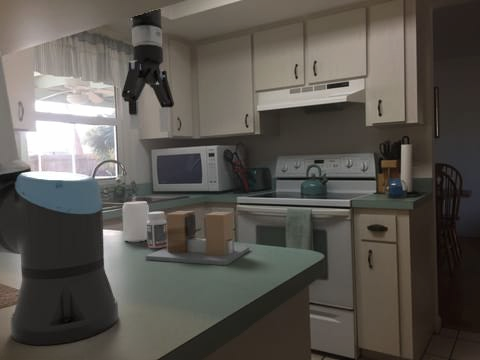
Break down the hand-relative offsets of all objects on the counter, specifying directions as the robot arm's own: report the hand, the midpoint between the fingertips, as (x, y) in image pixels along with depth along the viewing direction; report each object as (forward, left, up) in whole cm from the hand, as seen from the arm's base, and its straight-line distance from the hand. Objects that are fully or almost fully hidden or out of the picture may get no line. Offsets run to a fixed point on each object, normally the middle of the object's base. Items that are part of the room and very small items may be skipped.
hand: (151, 130), depth 108 cm
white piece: (+17, +18, -33) cm, 41 cm away
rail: (+3, -11, -33) cm, 35 cm away
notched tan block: (+3, -6, -32) cm, 32 cm away
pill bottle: (+10, +6, -33) cm, 35 cm away
